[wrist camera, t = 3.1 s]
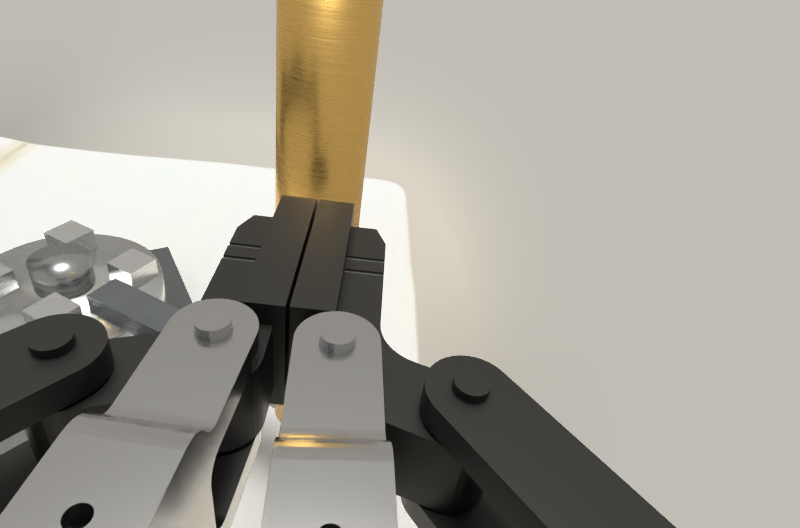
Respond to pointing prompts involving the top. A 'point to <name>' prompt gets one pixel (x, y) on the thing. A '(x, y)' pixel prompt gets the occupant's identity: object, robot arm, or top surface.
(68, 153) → the top surface
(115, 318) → the crank handle
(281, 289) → the robot arm
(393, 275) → the top surface
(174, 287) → the threaded base
